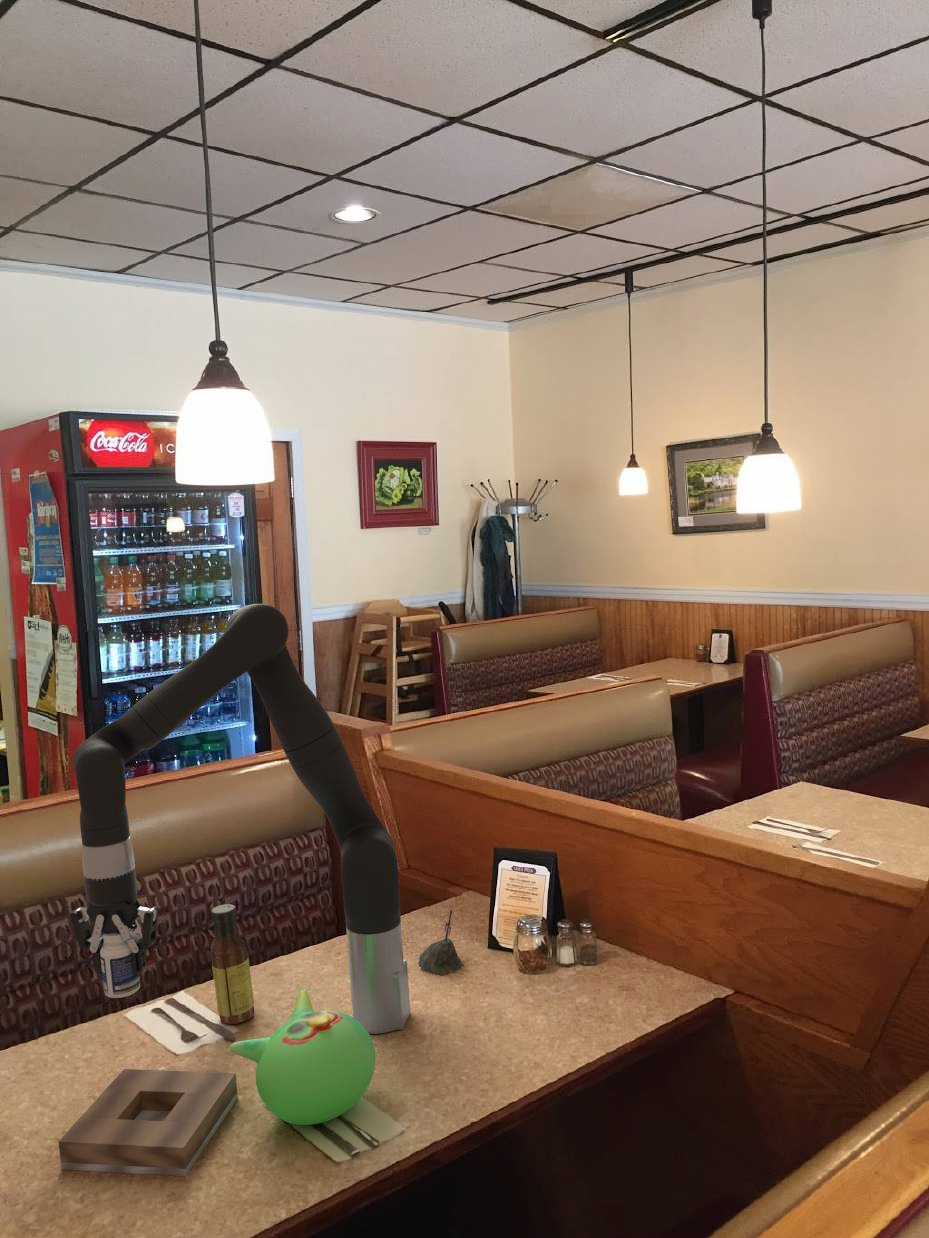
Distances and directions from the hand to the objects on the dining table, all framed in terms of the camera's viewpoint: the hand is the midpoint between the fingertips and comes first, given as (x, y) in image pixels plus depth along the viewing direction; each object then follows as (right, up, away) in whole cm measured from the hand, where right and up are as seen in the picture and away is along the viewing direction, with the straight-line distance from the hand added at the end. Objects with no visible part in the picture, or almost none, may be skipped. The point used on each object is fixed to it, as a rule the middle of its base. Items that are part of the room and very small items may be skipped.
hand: (120, 972), depth 159 cm
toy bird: (+32, -17, -11) cm, 38 cm away
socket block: (+9, -18, -14) cm, 25 cm away
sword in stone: (+49, -11, +35) cm, 61 cm away
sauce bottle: (+14, -14, +19) cm, 27 cm away
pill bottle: (0, -3, 0) cm, 3 cm away
